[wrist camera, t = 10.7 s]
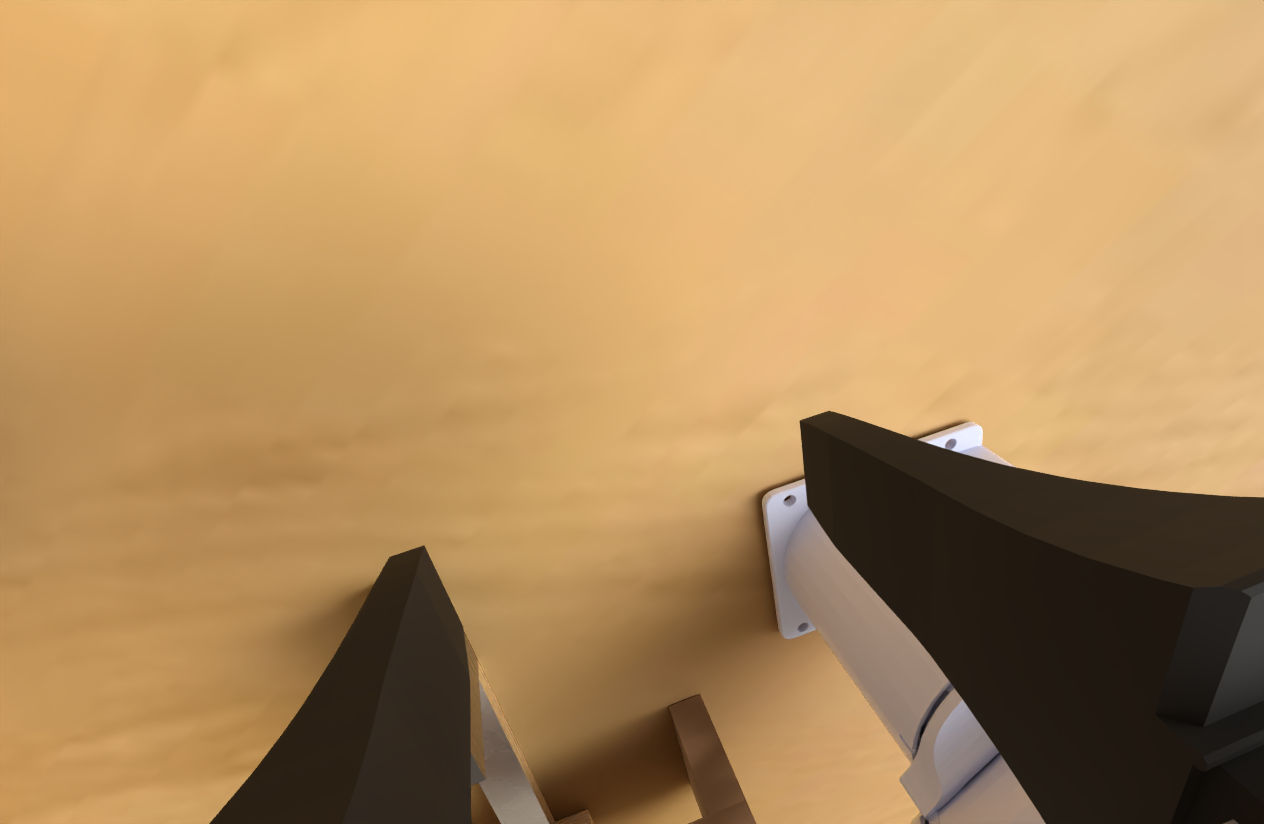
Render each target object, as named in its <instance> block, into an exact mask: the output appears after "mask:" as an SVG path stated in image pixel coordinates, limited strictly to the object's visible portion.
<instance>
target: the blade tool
mask: <svg viewBox="0 0 1264 824" xmlns="http://www.w3.org/2000/svg"><path fill="white" fill-rule="evenodd" d="M464 637H465V644H466V651H467V658H468V666H469V674H470V707H471V785H474V784H477V783H479V785H480V787H481V788H482V790H483V792H484V794H485V796H486V797H487V799H488V801H489V803H490V805H491V806H492V808H493V810H494V812H495V814H496V815H497V817H498V819H499V821H500V823H501V824H593V820H592V818H591V815H590V813H589V811H588V809H586V810H584V811H581V812H579V813H576V814H574V815H571V816H569V817H566V818H564V819H561V820H559V821H556V822H555V820H554V818H553V816H552V814H551V812H550V810H549V808H548V806H547V804H546V801H545V799H544V797H543V795H542V793H541V791H540V789H539V787H538V785H537V783H536V781H535V778H534V776H533V774H532V772H531V770H530V768H529V766H528V764H527V762H526V760H525V758H524V755H523V753H522V751H521V749H520V747H519V745H518V743H517V741H516V739H515V737H514V735H513V733H512V730H511V728H510V726H509V724H508V722H507V720H506V718H505V716H504V714H503V712H502V710H501V707H500V705H499V703H498V701H497V699H496V697H495V695H494V693H493V691H492V689H491V687H490V685H489V682H488V680H487V678H486V676H485V674H484V672H483V670H482V668H481V666H480V664H479V662H478V659H477V657H476V655H475V653H474V651H473V649H472V647H471V645H470V643H469V641H468V639H467V636H466V634H465V632H464Z"/></svg>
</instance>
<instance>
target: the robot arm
mask: <svg viewBox="0 0 1264 824" xmlns="http://www.w3.org/2000/svg"><path fill="white" fill-rule="evenodd" d="M800 429H801V440H802V452H803V463H804V474H805V479H802V480H799V481H796V482H794V483H791V484H788V485H785V486H782V487H779V488H776V489H773V490H771V491H769V492H768V493H767V494H766V495H765V496H764V497H763V499H762V510H763V517H764V525H765V532H766V540H767V547H768V555H769V562H770V570H771V577H772V585H773V592H774V600H775V607H776V615H777V622H778V630H779V632H780V634H781V635H782V637H783V638H785V639H793V638H796V637H798V636H801V635H804V634H806V633H809V632H812V631H814V630H817V631H818V632H819V634H820V635H821V636H822V638H823V639H824V641H825V642H826V644H827V645H828V646H829V648H830V649H831V651H832V652H833V654H834V655H835V656H836V658H837V659H838V661H839V662H840V663H841V665H842V666H843V668H844V669H845V671H846V672H847V673H848V675H849V676H850V678H851V679H852V681H853V682H854V683H855V685H856V686H857V688H858V689H859V690H860V692H861V693H862V695H863V696H864V698H865V699H866V700H867V702H868V703H869V705H870V706H871V708H872V709H873V710H874V712H875V713H876V715H877V716H878V717H879V719H880V720H881V722H882V723H883V725H884V726H885V727H886V729H887V730H888V732H889V733H890V735H891V736H892V737H893V739H894V740H895V742H896V743H897V744H898V746H899V747H900V749H901V750H902V752H903V753H904V754H905V756H906V757H907V759H908V760H909V762H910V763H911V765H910V766H909V768H908V769H907V770H906V771H905V772H904V773H903V774H902V776H901V777H900V782H901V784H902V785H903V787H904V788H905V790H906V791H907V793H908V794H909V796H910V797H911V799H912V800H913V802H914V803H915V805H916V806H917V808H918V809H919V811H920V813H919V814H918V815H917V816H916V817H915V818H914V819H913V820H912V822H911V824H1264V498H1263V497H1233V496H1218V495H1205V494H1192V493H1179V492H1168V491H1158V490H1149V489H1140V488H1132V487H1124V486H1117V485H1110V484H1103V483H1096V482H1089V481H1083V480H1077V479H1071V478H1065V477H1059V476H1054V475H1050V474H1045V473H1040V472H1035V471H1030V470H1025V469H1021V468H1016V467H1015V466H1013V465H1012V464H1010V463H1008V462H1007V461H1005V460H1004V459H1002V458H1001V457H999V456H998V455H996V454H995V453H993V452H992V451H990V450H988V449H987V448H985V447H984V446H982V436H983V430H982V428H981V427H980V426H979V425H978V424H976V423H974V422H967V423H964V424H961V425H958V426H955V427H952V428H949V429H947V430H944V431H941V432H938V433H935V434H932V435H929V436H926V437H923V438H921V439H918V440H917V439H914V438H911V437H908V436H905V435H902V434H899V433H896V432H893V431H890V430H887V429H884V428H881V427H878V426H876V425H873V424H870V423H867V422H864V421H861V420H858V419H855V418H852V417H849V416H845V415H842V414H839V413H835V412H831V411H827V412H824V413H821V414H818V415H815V416H812V417H809V418H806V419H803V420H800ZM948 440H949V441H948ZM947 441H948V443H947ZM946 443H947V444H946ZM789 495H791V496H790V498H789V499H788V500H786V501H784V499H785V498H786V497H787V496H789ZM210 824H472V821H471V707H470V674H469V666H468V658H467V651H466V644H465V637H464V630H463V626H462V624H461V621H460V619H459V617H458V615H457V613H456V611H455V609H454V607H453V605H452V603H451V601H450V598H449V596H448V594H447V592H446V590H445V588H444V586H443V584H442V582H441V580H440V578H439V575H438V573H437V571H436V569H435V567H434V565H433V563H432V561H431V559H430V557H429V554H428V552H427V550H426V548H425V546H421V547H418V548H415V549H412V550H409V551H406V552H403V553H400V554H397V555H394V556H391V557H389V559H388V561H387V563H386V564H385V566H384V568H383V570H382V571H381V573H380V575H379V577H378V578H377V580H376V582H375V584H374V586H373V588H372V589H371V591H370V593H369V595H368V597H367V599H366V601H365V602H364V604H363V606H362V608H361V610H360V611H359V613H358V615H357V617H356V619H355V621H354V622H353V624H352V626H351V628H350V629H349V631H348V633H347V634H346V636H345V638H344V640H343V641H342V643H341V645H340V647H339V648H338V650H337V652H336V654H335V655H334V657H333V659H332V660H331V662H330V663H329V665H328V666H327V668H326V670H325V671H324V673H323V674H322V676H321V677H320V679H319V681H318V682H317V684H316V685H315V687H314V688H313V690H312V692H311V693H310V695H309V696H308V698H307V699H306V701H305V703H304V704H303V705H302V707H301V708H300V710H299V711H298V713H297V714H296V716H295V717H294V718H293V720H292V721H291V723H290V724H289V725H288V727H287V728H286V730H285V731H284V732H283V734H282V735H281V736H280V738H279V739H278V740H277V742H276V743H275V744H274V746H273V747H272V748H271V750H270V751H269V752H268V754H267V755H266V756H265V757H264V759H263V760H262V761H261V763H260V764H259V765H258V767H257V768H256V769H255V770H254V772H253V773H252V774H251V775H250V777H249V778H248V779H247V780H246V781H245V783H244V784H243V785H242V786H241V787H240V788H239V790H238V791H237V792H236V793H235V794H234V796H233V797H232V798H231V799H230V800H229V801H228V803H227V804H226V805H225V806H224V807H223V808H222V810H221V811H220V812H219V813H218V814H217V815H216V817H215V818H214V819H213V820H212V821H211V822H210Z"/></svg>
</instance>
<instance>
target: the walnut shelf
mask: <svg viewBox="0 0 1264 824" xmlns="http://www.w3.org/2000/svg"><path fill="white" fill-rule="evenodd" d="M669 709H670V713H671V716H672V720H673V723H674V727H675V731H676V734H677V738H678V741H679V745H680V749H681V752H682V756H683V759H684V763H685V767H686V770H687V774H688V778H689V781H690V784H691V787H692V790H693V793H694V795H695V798H696V801H697V804H698V806H699V809H700V812H701V815H702V817H703V818H701V819H698V820H696V821H694V822H691V823H689V824H756V822H755V820H754V818H753V815H752V813H751V811H750V808H749V806H748V804H747V802H746V799H745V797H744V795H743V792H742V790H741V788H740V785H739V783H738V781H737V779H736V776H735V774H734V772H733V769H732V767H731V765H730V762H729V760H728V758H727V755H726V753H725V751H724V749H723V746H722V744H721V742H720V739H719V737H718V735H717V732H716V730H715V728H714V726H713V723H712V721H711V719H710V716H709V714H708V712H707V709H706V707H705V705H704V702H703V700H702V698H701V696H700V694H699V695H697V696H694V697H692V698H689V699H687V700H684V701H681V702H679V703H676V704H674V705H671V706H669Z"/></svg>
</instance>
